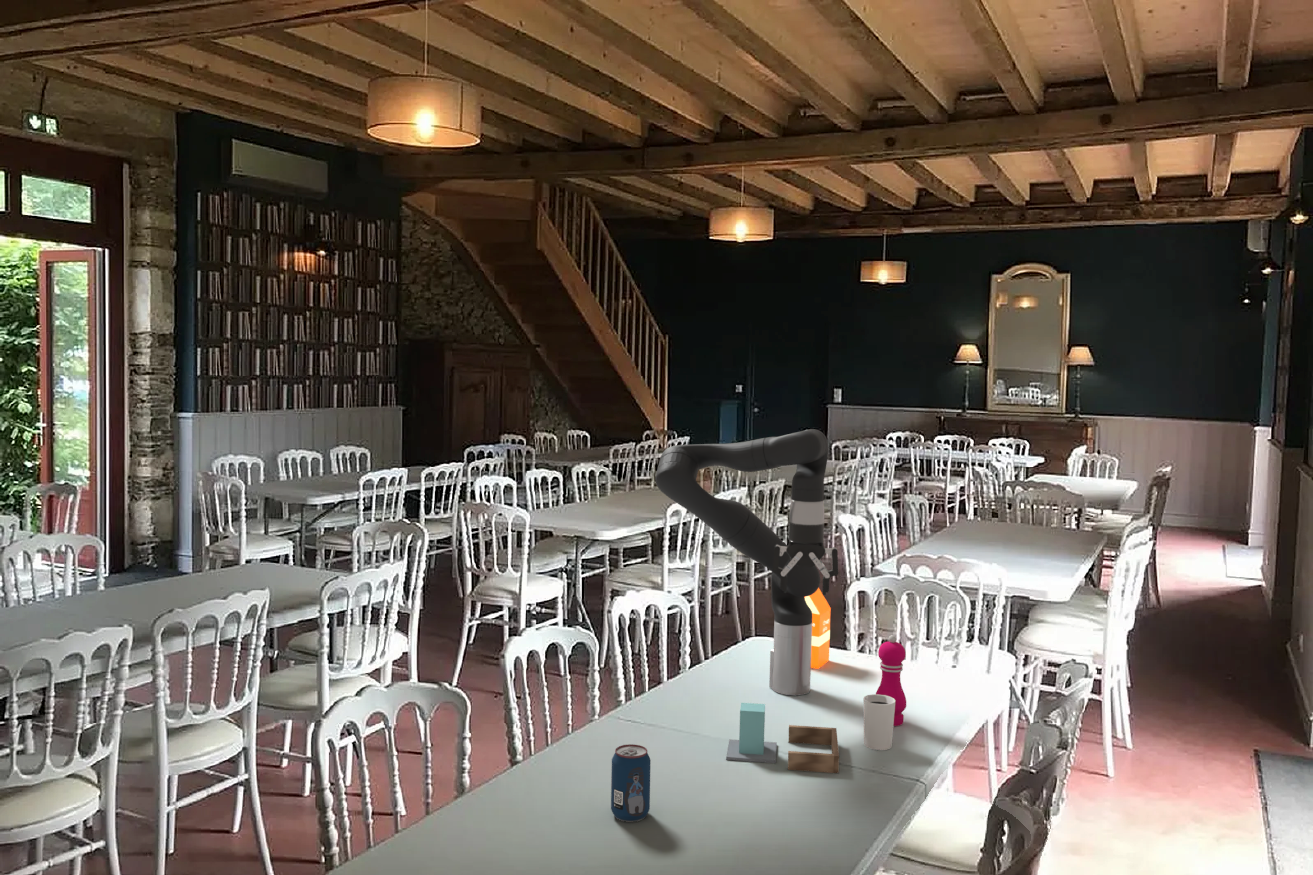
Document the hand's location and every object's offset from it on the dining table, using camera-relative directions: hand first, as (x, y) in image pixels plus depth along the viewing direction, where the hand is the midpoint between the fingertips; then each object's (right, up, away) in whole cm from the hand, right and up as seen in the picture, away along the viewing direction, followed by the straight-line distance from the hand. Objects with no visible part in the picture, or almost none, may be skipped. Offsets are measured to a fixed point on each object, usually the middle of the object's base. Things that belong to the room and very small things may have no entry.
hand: (804, 593), depth 236 cm
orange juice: (+9, -26, +52) cm, 58 cm away
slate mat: (-13, -31, -14) cm, 36 cm away
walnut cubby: (-1, -32, -15) cm, 35 cm away
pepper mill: (+20, -30, +7) cm, 37 cm away
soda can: (-37, -33, -45) cm, 67 cm away
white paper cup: (+14, -31, -8) cm, 35 cm away
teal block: (-13, -31, -14) cm, 36 cm away
